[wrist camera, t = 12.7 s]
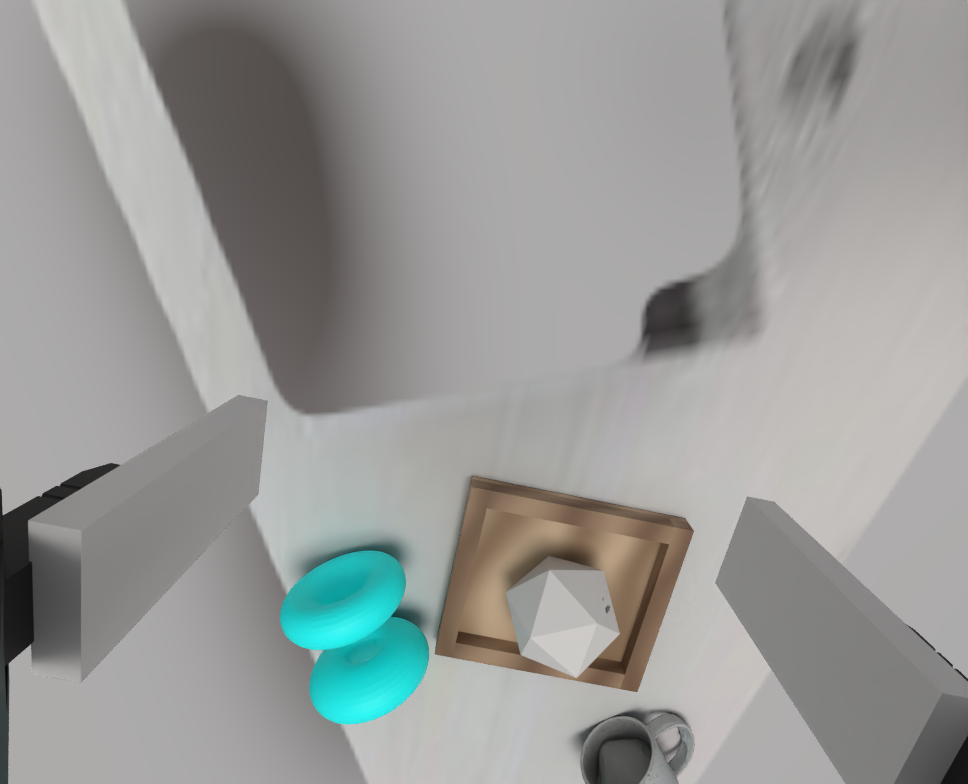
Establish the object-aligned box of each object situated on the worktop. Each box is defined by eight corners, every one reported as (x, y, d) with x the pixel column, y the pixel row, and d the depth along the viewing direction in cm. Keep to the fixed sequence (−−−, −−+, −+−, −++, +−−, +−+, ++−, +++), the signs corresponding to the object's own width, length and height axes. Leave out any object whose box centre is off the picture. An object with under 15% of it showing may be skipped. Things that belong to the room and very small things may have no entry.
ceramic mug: (610, 787, 54) (629, 868, 47) (572, 733, 53) (586, 809, 46) (702, 745, 53) (736, 823, 46) (667, 689, 51) (696, 760, 44)
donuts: (336, 648, 51) (298, 744, 41) (300, 557, 48) (252, 636, 38) (438, 628, 50) (425, 720, 40) (408, 534, 47) (386, 608, 38)
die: (583, 632, 50) (656, 657, 41) (502, 669, 46) (563, 706, 37) (560, 543, 50) (627, 550, 42) (479, 573, 47) (534, 586, 38)
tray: (685, 518, 46) (693, 531, 44) (631, 674, 51) (637, 692, 49) (472, 476, 46) (471, 486, 44) (437, 637, 50) (434, 654, 48)
